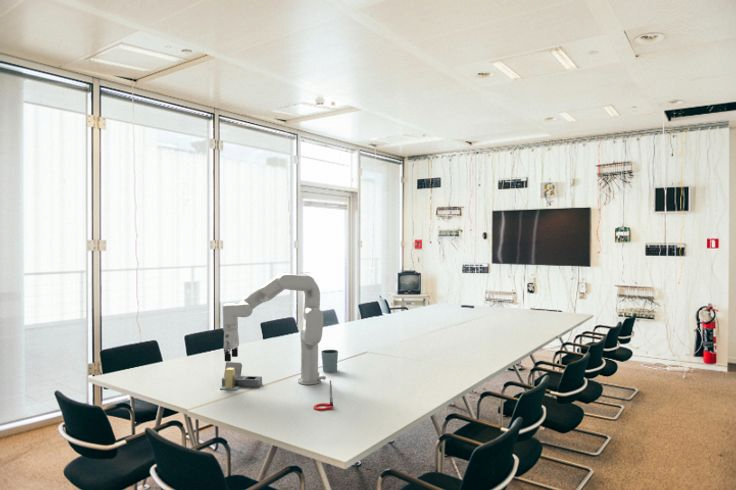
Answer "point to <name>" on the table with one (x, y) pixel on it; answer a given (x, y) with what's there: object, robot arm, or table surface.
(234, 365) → the electrical switch
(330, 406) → the tow hook
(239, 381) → the rail
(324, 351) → the grey-green cup
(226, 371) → the brass peg
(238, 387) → the rubber mat
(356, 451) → the table surface
